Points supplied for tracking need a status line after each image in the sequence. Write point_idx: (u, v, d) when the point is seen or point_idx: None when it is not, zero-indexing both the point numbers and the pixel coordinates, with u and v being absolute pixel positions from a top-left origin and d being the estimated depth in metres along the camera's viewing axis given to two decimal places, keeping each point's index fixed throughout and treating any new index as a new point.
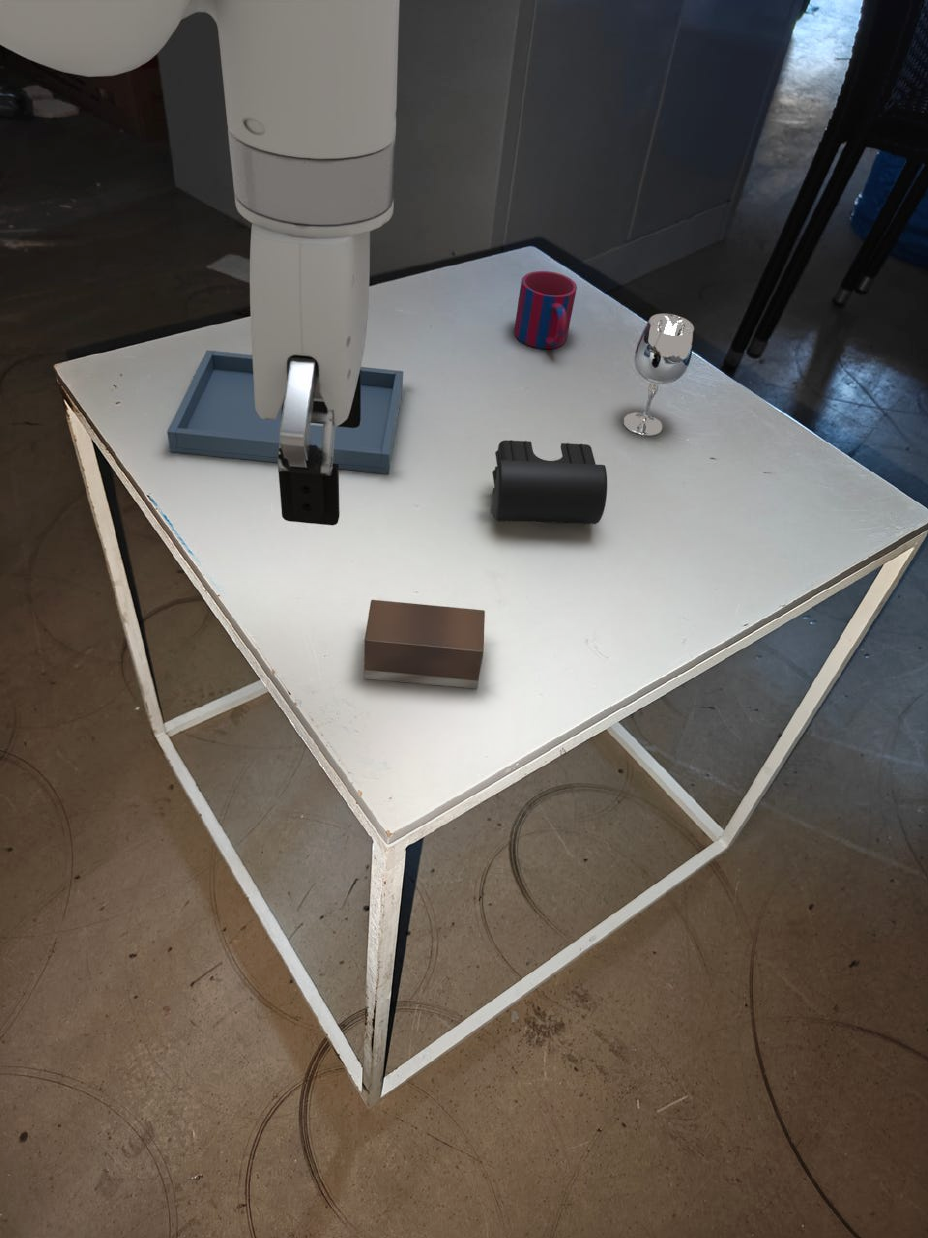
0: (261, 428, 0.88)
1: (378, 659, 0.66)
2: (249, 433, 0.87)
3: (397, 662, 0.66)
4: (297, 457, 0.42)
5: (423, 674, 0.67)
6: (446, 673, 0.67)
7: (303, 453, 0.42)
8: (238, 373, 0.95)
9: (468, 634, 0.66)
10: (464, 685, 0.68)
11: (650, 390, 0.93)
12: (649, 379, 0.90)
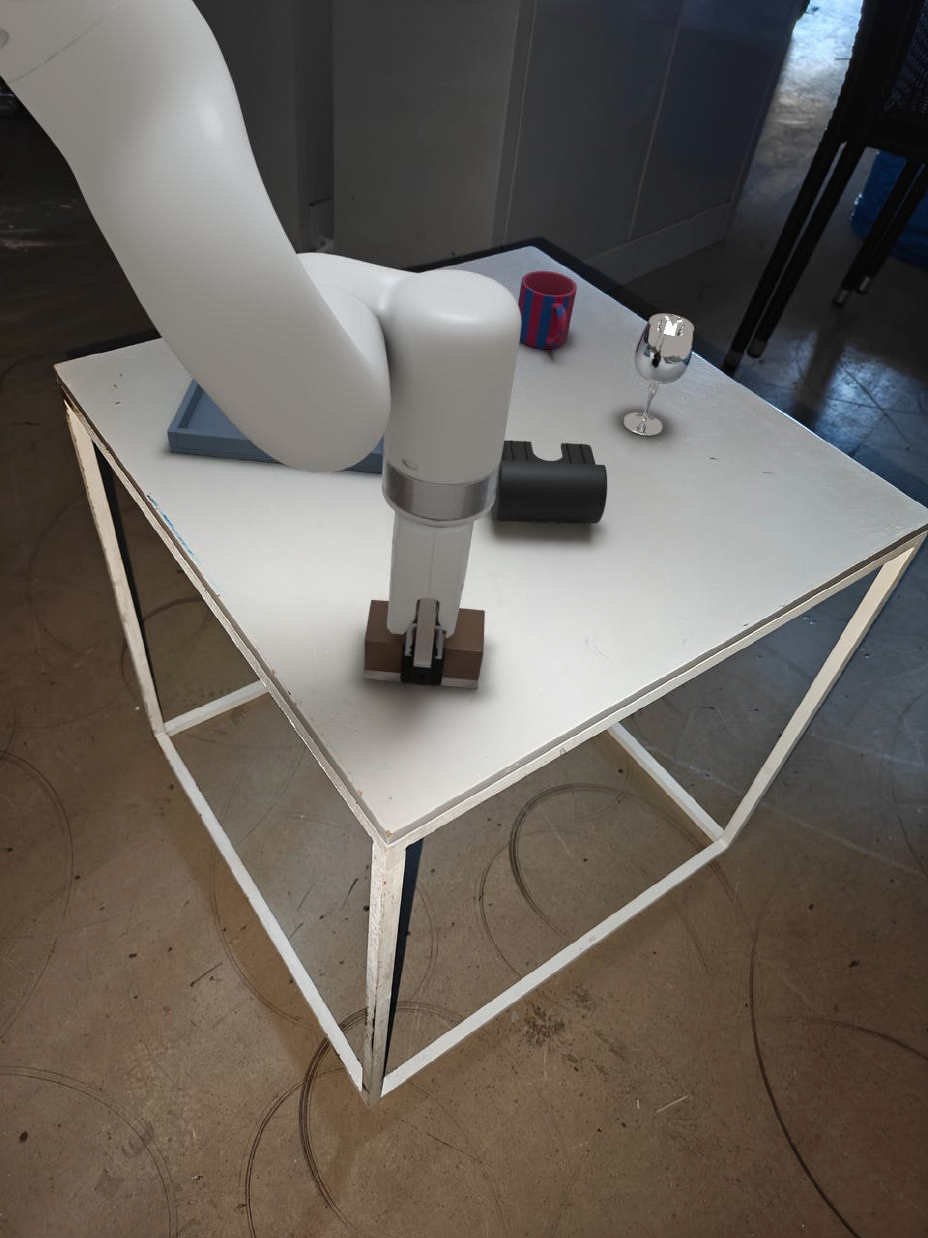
0: None
1: (378, 659, 0.66)
2: None
3: (397, 662, 0.66)
4: None
5: None
6: (446, 673, 0.67)
7: None
8: None
9: (468, 634, 0.66)
10: (464, 685, 0.68)
11: (650, 389, 0.93)
12: (649, 379, 0.90)
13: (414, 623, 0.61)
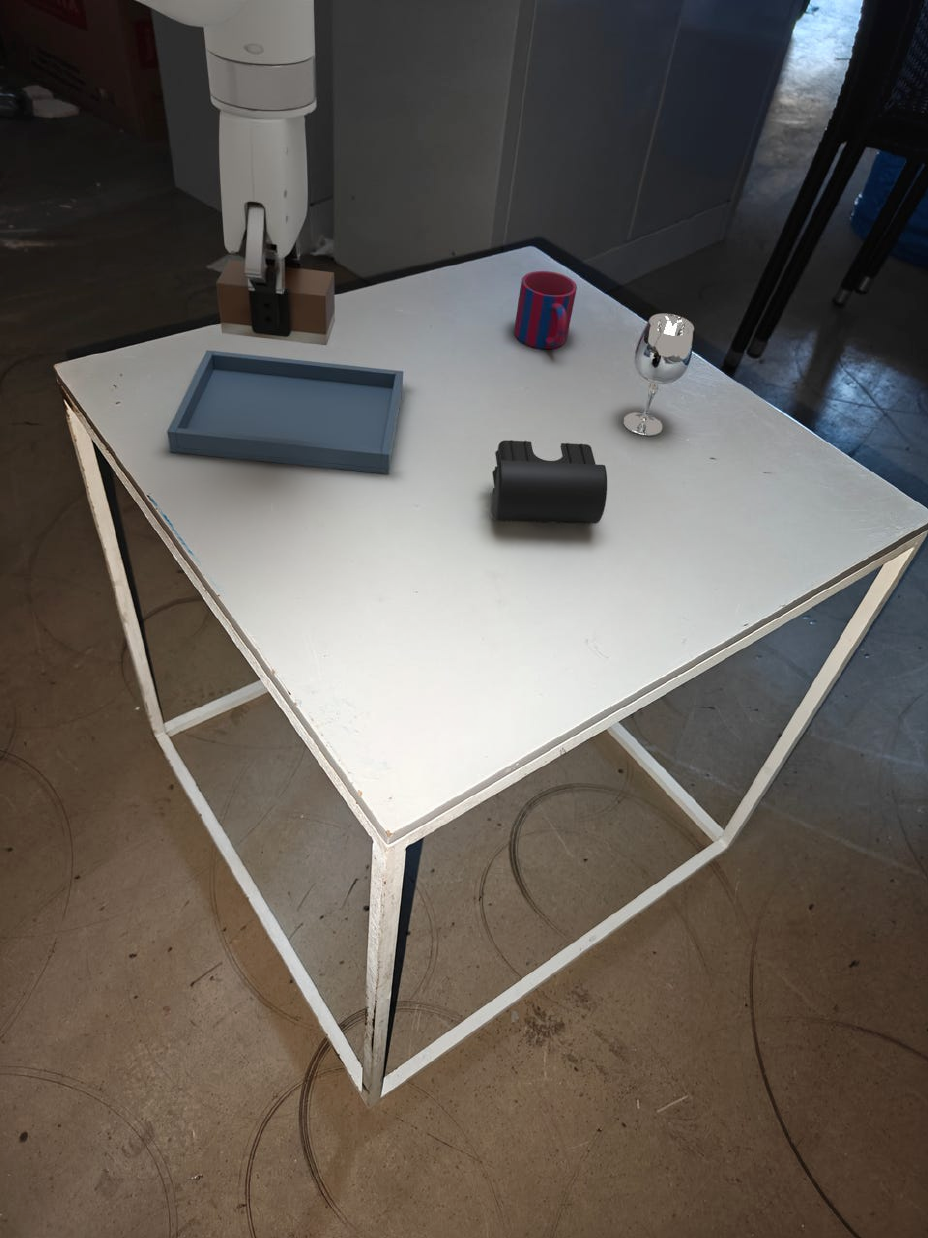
0: (261, 428, 0.88)
1: (231, 307, 0.72)
2: (249, 433, 0.87)
3: (249, 311, 0.72)
4: (258, 280, 0.66)
5: None
6: (295, 325, 0.73)
7: (261, 279, 0.66)
8: (238, 373, 0.95)
9: (314, 284, 0.72)
10: (314, 340, 0.73)
11: (650, 389, 0.93)
12: (649, 379, 0.90)
13: None
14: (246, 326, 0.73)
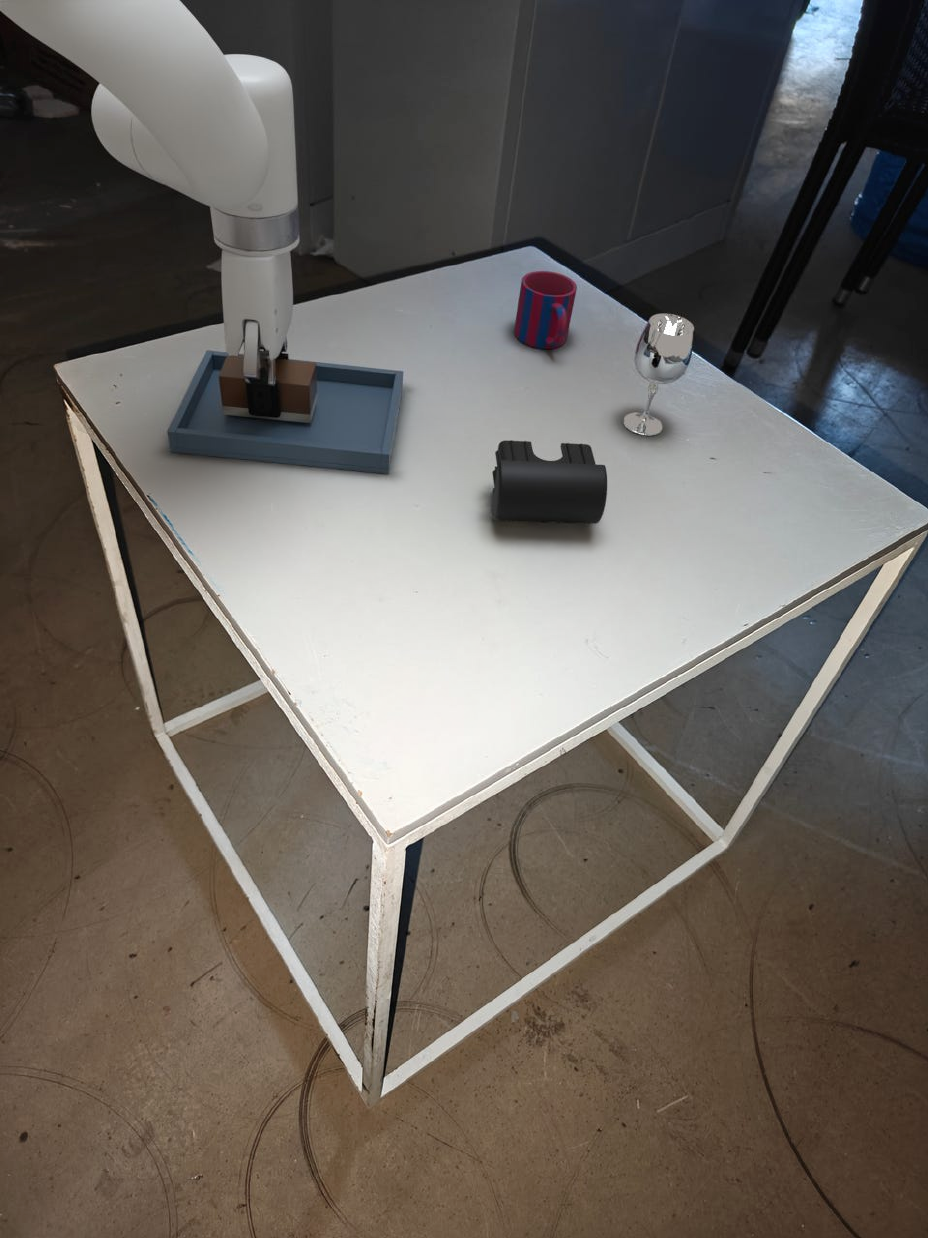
0: (261, 428, 0.88)
1: (231, 394, 0.86)
2: (249, 433, 0.87)
3: (246, 397, 0.87)
4: (254, 378, 0.81)
5: None
6: (285, 407, 0.87)
7: (257, 378, 0.80)
8: None
9: (299, 374, 0.86)
10: (300, 419, 0.88)
11: (650, 389, 0.93)
12: (649, 379, 0.90)
13: None
14: (243, 409, 0.88)
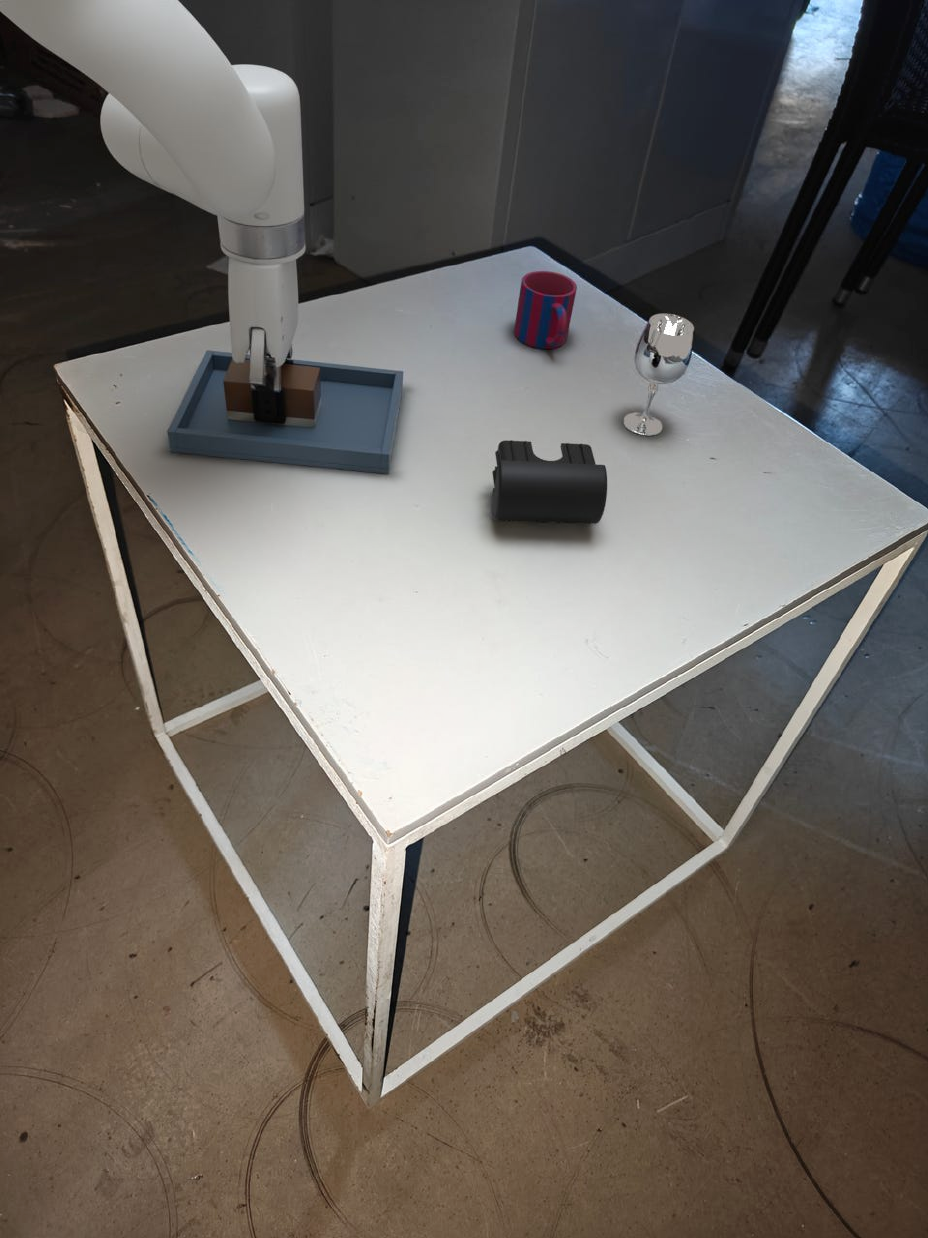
0: (261, 428, 0.88)
1: (236, 399, 0.87)
2: (249, 433, 0.87)
3: (250, 402, 0.87)
4: (260, 385, 0.81)
5: None
6: (289, 412, 0.88)
7: (263, 385, 0.81)
8: None
9: (304, 380, 0.87)
10: (304, 424, 0.89)
11: (650, 389, 0.93)
12: (649, 379, 0.90)
13: None
14: (248, 413, 0.88)
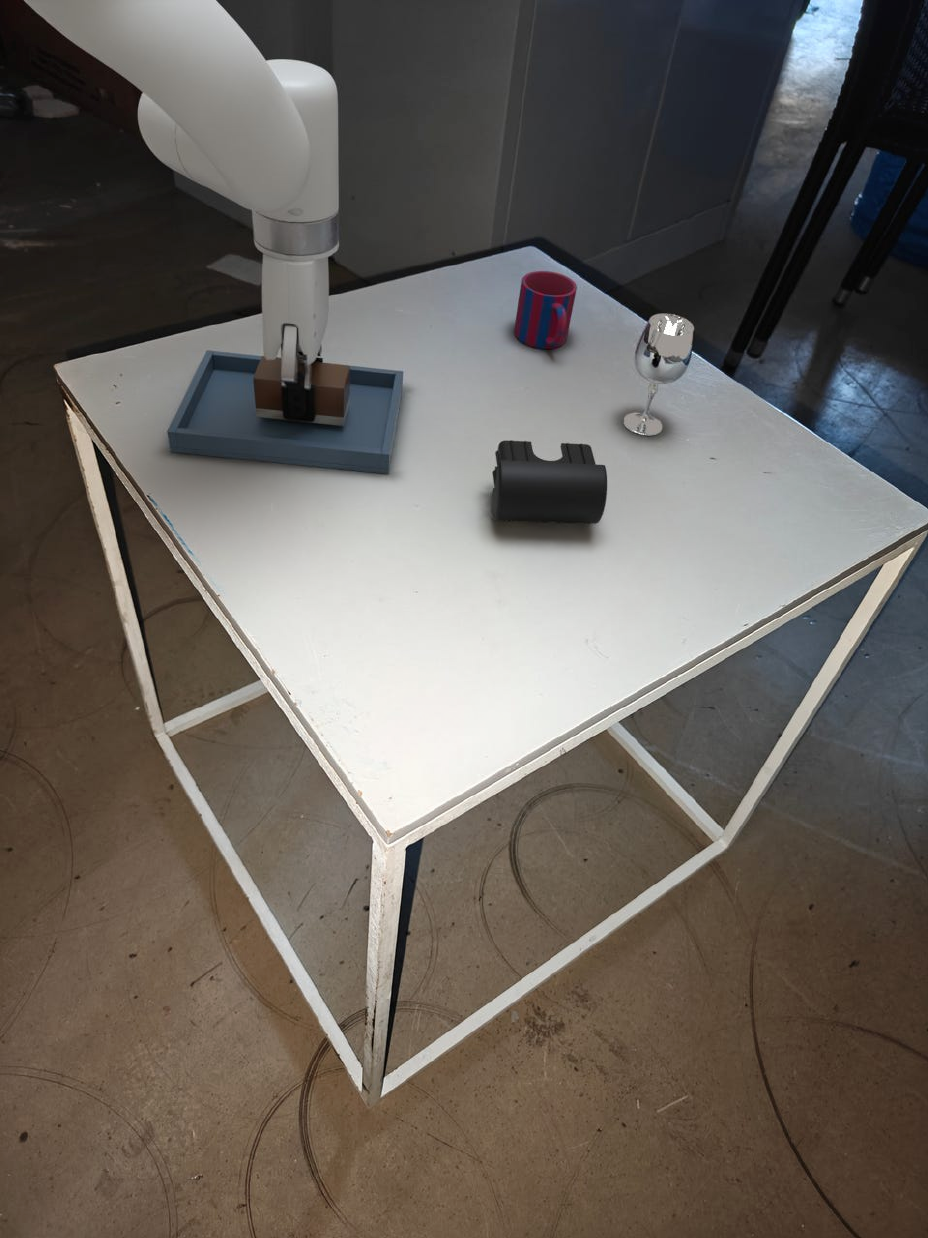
0: (261, 428, 0.88)
1: (265, 397, 0.86)
2: (249, 433, 0.87)
3: (280, 399, 0.86)
4: (291, 382, 0.81)
5: None
6: (318, 410, 0.87)
7: (294, 382, 0.80)
8: (238, 373, 0.95)
9: (334, 377, 0.86)
10: (333, 422, 0.88)
11: (650, 389, 0.93)
12: (649, 379, 0.90)
13: None
14: (277, 411, 0.87)
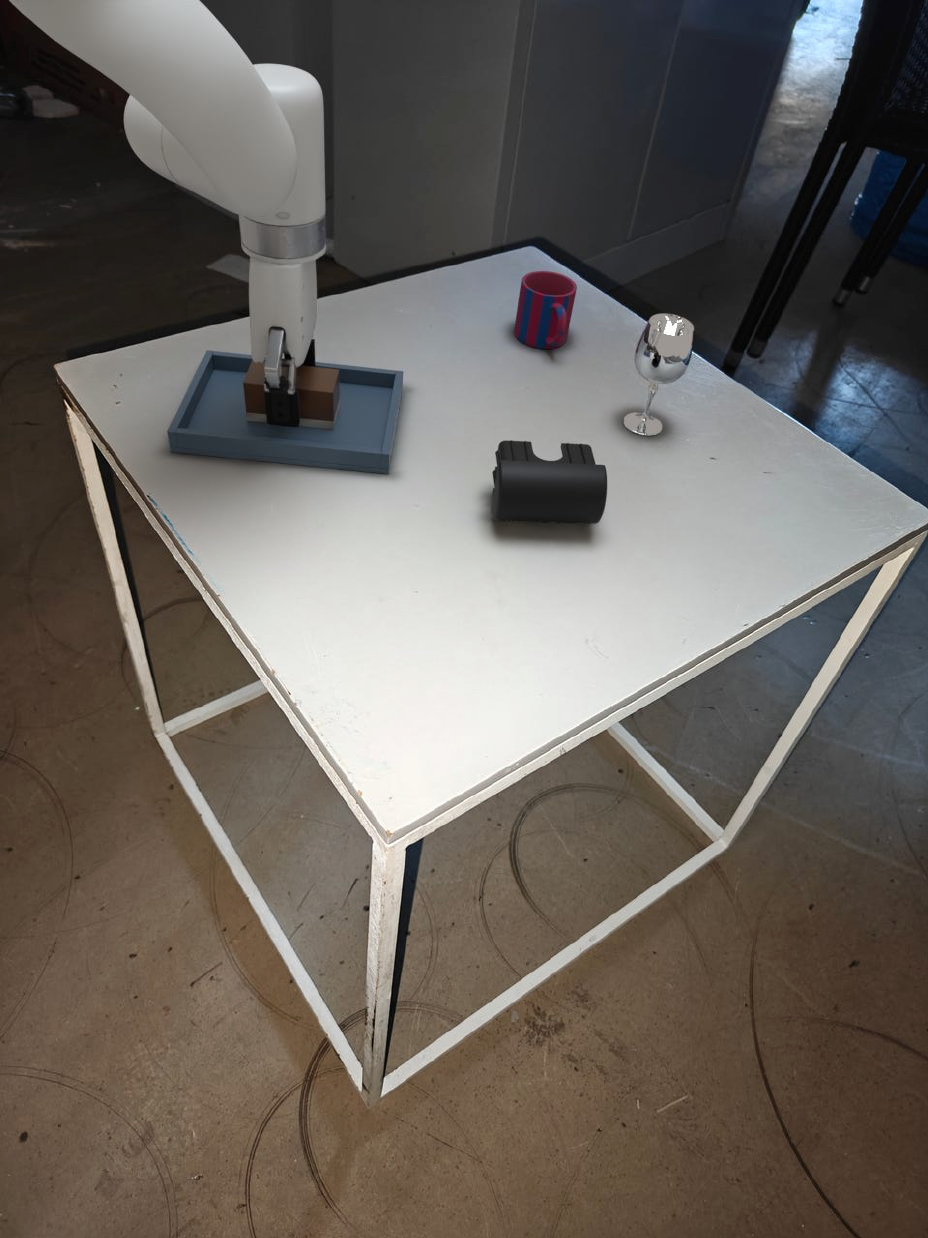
0: (261, 428, 0.88)
1: (255, 401, 0.87)
2: (249, 433, 0.87)
3: None
4: (274, 381, 0.78)
5: None
6: (308, 414, 0.88)
7: (277, 379, 0.78)
8: (238, 373, 0.95)
9: (323, 381, 0.87)
10: (323, 426, 0.89)
11: (650, 389, 0.93)
12: (649, 379, 0.90)
13: None
14: None
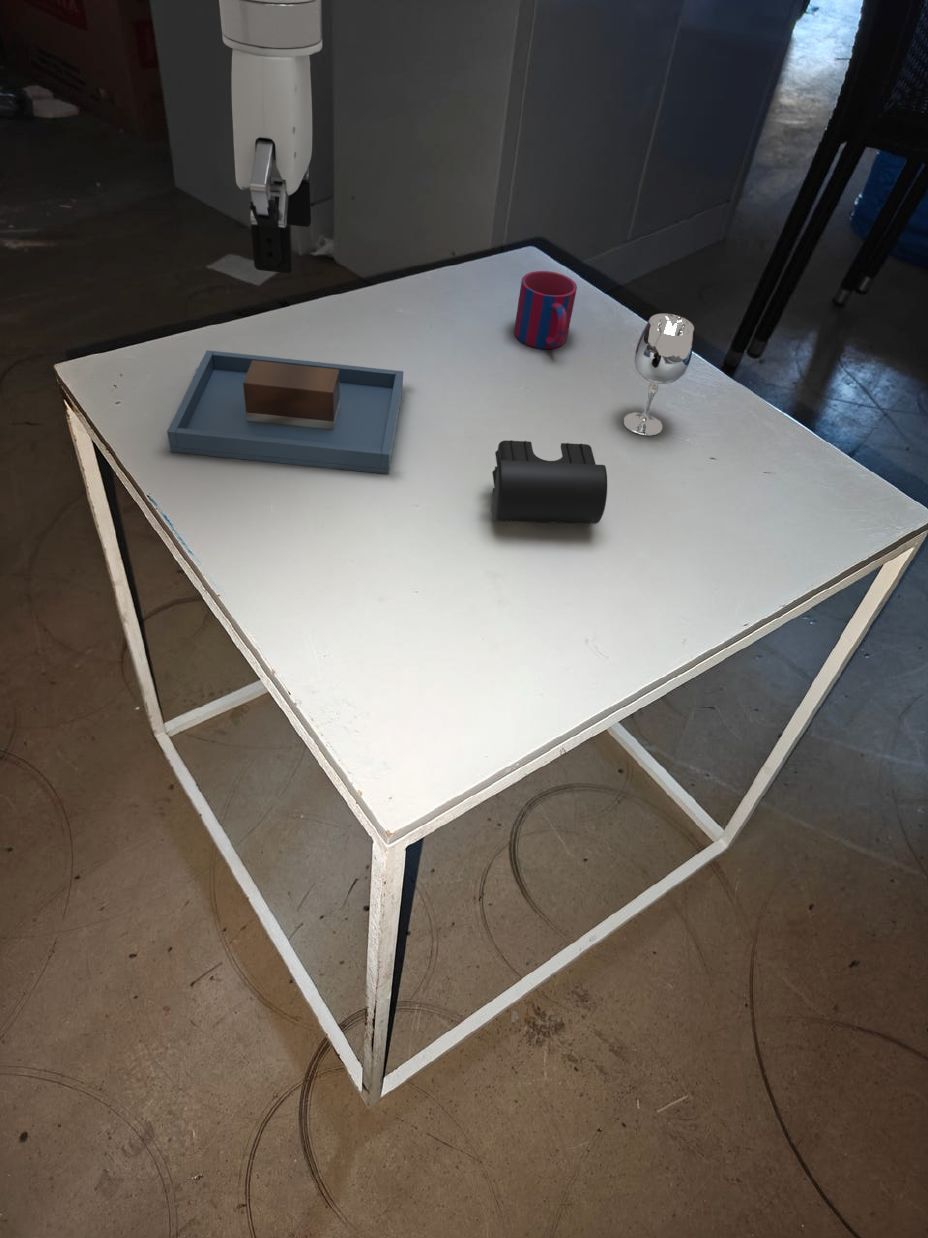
0: (261, 428, 0.88)
1: (255, 401, 0.87)
2: (249, 433, 0.87)
3: (270, 404, 0.87)
4: (261, 204, 0.67)
5: (291, 416, 0.88)
6: (308, 414, 0.88)
7: (265, 200, 0.67)
8: (238, 373, 0.95)
9: (323, 381, 0.87)
10: (323, 426, 0.89)
11: (650, 389, 0.93)
12: (649, 379, 0.90)
13: None
14: (267, 415, 0.88)
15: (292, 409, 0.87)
